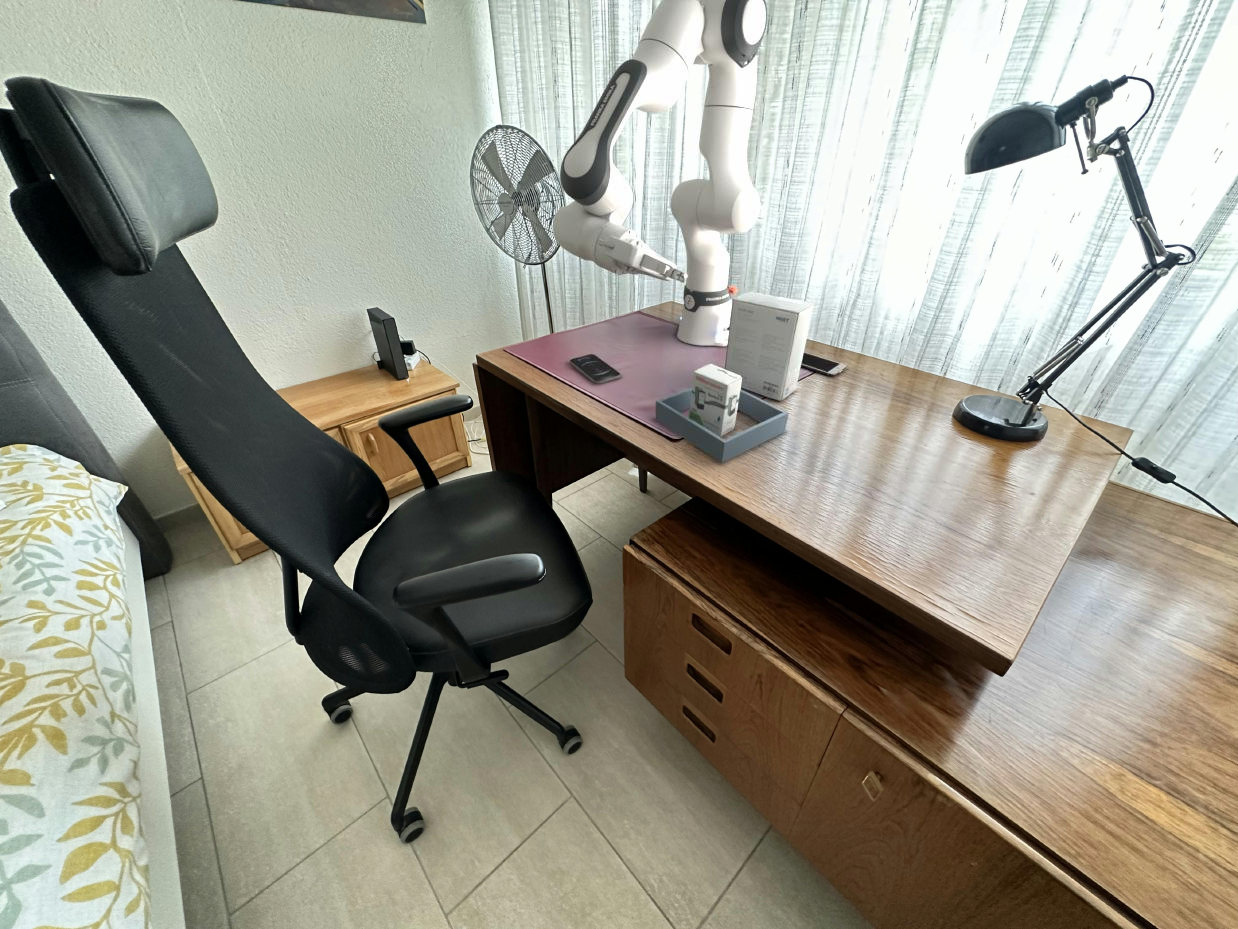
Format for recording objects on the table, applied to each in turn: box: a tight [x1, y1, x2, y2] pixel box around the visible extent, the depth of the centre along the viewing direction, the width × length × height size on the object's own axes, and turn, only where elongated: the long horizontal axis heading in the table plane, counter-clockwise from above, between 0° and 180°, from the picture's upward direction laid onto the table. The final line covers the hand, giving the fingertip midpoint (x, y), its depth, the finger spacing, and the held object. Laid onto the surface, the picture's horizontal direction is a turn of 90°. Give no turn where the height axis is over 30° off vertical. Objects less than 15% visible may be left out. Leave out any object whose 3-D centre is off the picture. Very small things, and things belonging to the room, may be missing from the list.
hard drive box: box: [724, 291, 815, 402], centre depth 105 cm, size 16×8×20 cm, turn 47°
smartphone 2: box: [800, 351, 847, 377], centre depth 120 cm, size 7×15×1 cm, turn 43°
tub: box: [655, 387, 790, 464], centre depth 96 cm, size 18×20×4 cm
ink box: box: [688, 363, 742, 438], centre depth 94 cm, size 9×5×12 cm, turn 43°
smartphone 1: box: [569, 353, 621, 385], centre depth 120 cm, size 8×1×15 cm
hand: (676, 274), depth 92 cm, fingers open, 8 cm apart
